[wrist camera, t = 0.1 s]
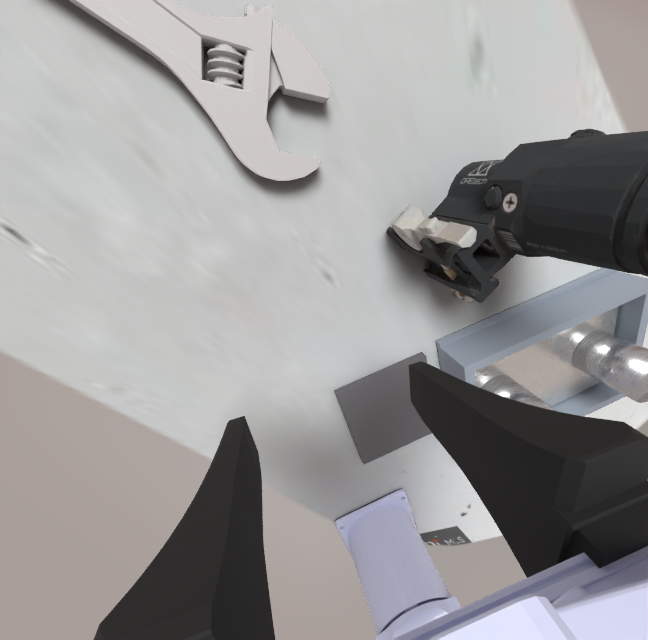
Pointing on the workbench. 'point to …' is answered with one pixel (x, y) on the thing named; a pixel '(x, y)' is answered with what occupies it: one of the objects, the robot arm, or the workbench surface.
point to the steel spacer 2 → (614, 363)
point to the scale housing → (552, 329)
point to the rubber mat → (382, 410)
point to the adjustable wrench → (227, 70)
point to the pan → (551, 362)
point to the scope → (537, 211)
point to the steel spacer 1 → (513, 391)
